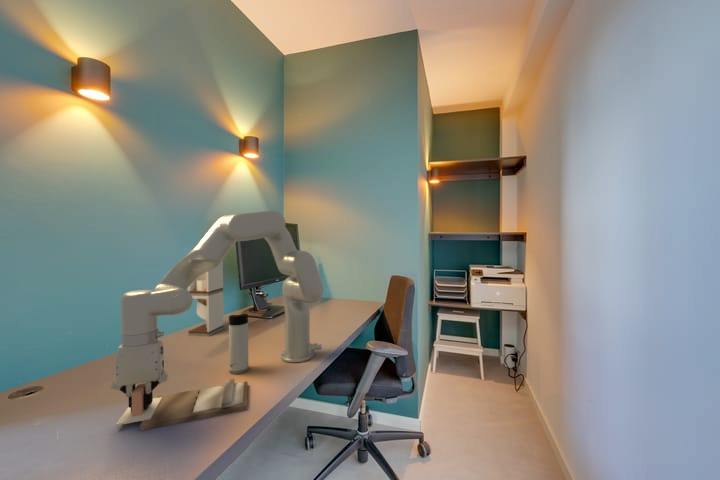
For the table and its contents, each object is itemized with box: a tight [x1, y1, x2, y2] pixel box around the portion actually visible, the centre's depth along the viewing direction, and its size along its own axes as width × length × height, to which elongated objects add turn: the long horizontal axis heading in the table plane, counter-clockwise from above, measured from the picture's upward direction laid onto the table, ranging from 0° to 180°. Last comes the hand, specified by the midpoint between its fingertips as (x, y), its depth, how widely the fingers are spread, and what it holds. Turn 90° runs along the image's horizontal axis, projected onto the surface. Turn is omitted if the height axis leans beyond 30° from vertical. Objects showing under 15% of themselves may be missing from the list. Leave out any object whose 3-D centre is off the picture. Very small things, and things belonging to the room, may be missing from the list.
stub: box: [115, 383, 162, 426], centre depth 76 cm, size 7×10×6 cm
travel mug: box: [228, 313, 249, 375], centre depth 102 cm, size 6×7×20 cm
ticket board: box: [139, 378, 249, 431], centre depth 81 cm, size 24×14×3 cm, turn 110°
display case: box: [187, 260, 224, 337], centre depth 144 cm, size 11×11×35 cm
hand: (140, 407), depth 76 cm, fingers closed on stub, 2 cm apart
